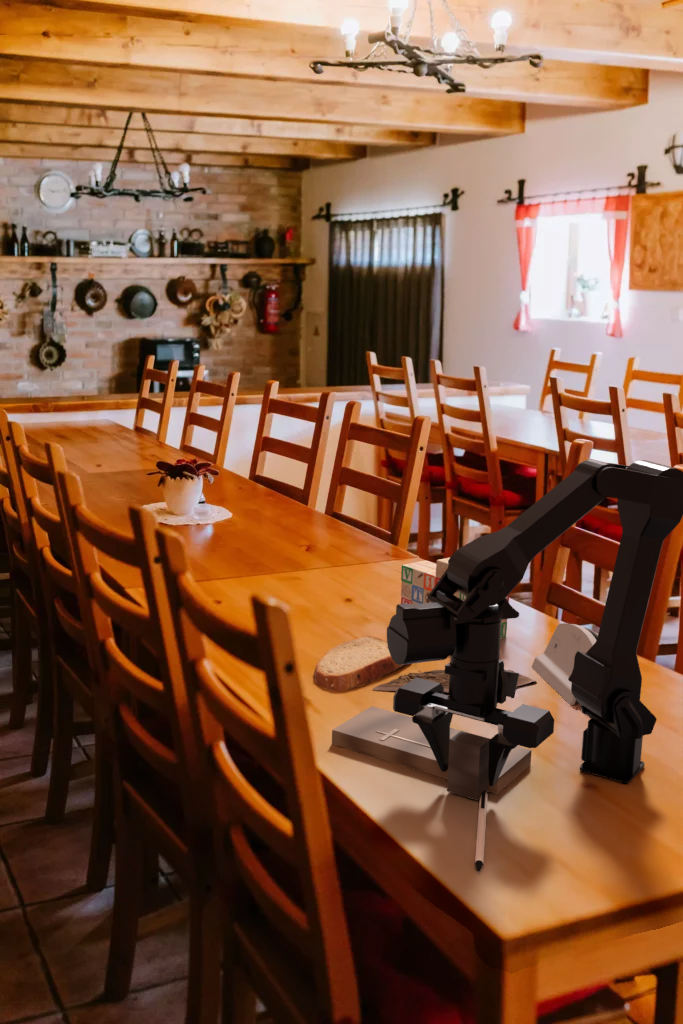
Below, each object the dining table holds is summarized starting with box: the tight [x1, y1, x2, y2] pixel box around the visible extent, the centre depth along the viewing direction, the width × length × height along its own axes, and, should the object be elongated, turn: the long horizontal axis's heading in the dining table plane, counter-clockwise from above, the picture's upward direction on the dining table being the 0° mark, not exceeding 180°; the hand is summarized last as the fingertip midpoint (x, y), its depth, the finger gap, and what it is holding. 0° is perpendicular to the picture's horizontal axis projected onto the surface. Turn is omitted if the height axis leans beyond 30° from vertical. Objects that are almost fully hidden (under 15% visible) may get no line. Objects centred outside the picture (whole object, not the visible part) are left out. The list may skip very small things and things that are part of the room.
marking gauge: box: [446, 730, 491, 801], centre depth 131 cm, size 4×7×7 cm, turn 147°
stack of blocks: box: [400, 556, 510, 639], centre depth 193 cm, size 21×6×12 cm, turn 38°
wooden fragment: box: [372, 668, 538, 693], centre depth 165 cm, size 26×11×1 cm, turn 98°
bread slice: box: [313, 635, 403, 692], centre depth 171 cm, size 18×18×4 cm
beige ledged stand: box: [531, 622, 598, 706], centre depth 166 cm, size 17×5×10 cm, turn 11°
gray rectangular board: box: [331, 706, 532, 795], centre depth 141 cm, size 24×10×2 cm, turn 57°
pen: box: [474, 790, 488, 874], centre depth 122 cm, size 1×19×1 cm, turn 171°
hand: (468, 777), depth 130 cm, fingers open, 6 cm apart
